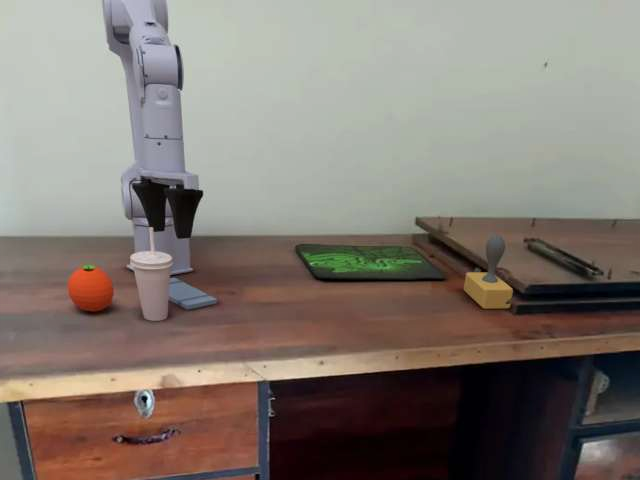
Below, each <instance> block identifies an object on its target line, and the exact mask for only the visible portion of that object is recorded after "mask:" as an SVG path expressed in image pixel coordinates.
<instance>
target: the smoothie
mask: <svg viewBox="0 0 640 480" xmlns="http://www.w3.org/2000/svg"><path fill="white" fill-rule="evenodd" d="M149 229H150V243H151V251H143V252H137V253H135V252H134V253H132V254H131V255H130V256H129V257H130V258H129V259H130V263H129V264H131V265H132V266H133V268H134V271H133V272H134V278H135V282H136V286H137V293H138V296H139V301H140V305H141V306H140V307H141V310H142V315H143V319H145V320H147V321H151V322H161V321H164V320H166V319H167V318H168V314H169V313H168V312H169V300H168V299H169V284H170V278H171V275H170V268H171V266H172V264H173V262H172V257H171V256H170V255H169V254H166V253H163V252H157V251H155V247H154V232H153V227H149Z"/></svg>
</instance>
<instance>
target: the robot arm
mask: <svg viewBox="0 0 640 480" xmlns="http://www.w3.org/2000/svg"><path fill="white" fill-rule="evenodd" d="M101 5H102V7H101V8H102V17H103V23H104V29H105V31H104V32H105V38H106V43H107V44H108V50H109V51H110V52H112V53H113V54H114V55H116V56H118V57H119V58H120V61H121V64H122V67H123V70H124V74H125V82H126V93H127V101H128V109H129V110H128V111H129V121H130V126H131V128H130V129H131V139H132V146H133V155H134V162H133V163H131V164H130V165H129V166H128V167H127V168H126V169H124V170H123V171H122V172H121V176H120V184H121V186H120V187H121V188H120V190H121V191H120V192H121V203H122V204H121V205H122V210H123V215H124V217H125V218H126V219H127V220H128V221H131V222H132V234H133V247H134V253H137V252H143V251H151V243H150V229H149V227H153V232H154V247H155V251H157V252H163V253H166V254H169V255H170V256H171V257H172V262H173V264H172V266H171V268H170V276H174V275H180V274H184V273H185V274H187V273H190V272H193V271H194V269H193V268H192V267H191V253H190V252H191V251H190V250H191V249H190V239H191V238H192V234H193V228H194V223H195V218H196V213H197V210H198V207H199V205H200V202H201V201H202V198H203V197H204V191H203V189H200V181H199V174H197V173H196V174H195V173H193V172H190V171H187V170H186V161H185V145H184V130H183V126H184V125H183V113H182V111H183V110H182V96H181V92H183V89H184V81H185V71H184V70H185V68H184V59H183V55H182V51H181V47H180V45H179V44H176V43H174V44H172V43H171V40H170V38H169V35H168V34H169V10H168V3H167V0H101ZM126 268H127V269H129V270H131V271H133V272H134V268H133V266H132V265H131V263H129V264H126Z"/></svg>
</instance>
